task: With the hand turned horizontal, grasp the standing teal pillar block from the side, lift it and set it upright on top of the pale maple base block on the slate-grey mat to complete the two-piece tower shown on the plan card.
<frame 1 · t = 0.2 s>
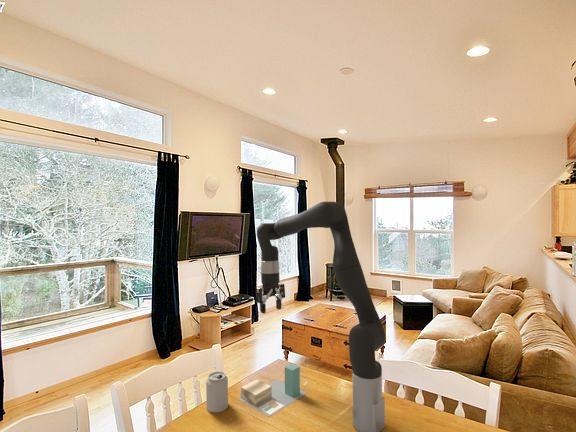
hand: (271, 311, 138), 28 cm above the table, tool pointing down, fingers open, 8 cm apart
pillar: (292, 393, 127), point 1 cm above the table, touching mat
mat: (273, 398, 125), on the table
base block: (256, 397, 124), point 1 cm above the table, touching mat
can: (217, 409, 119), on the table
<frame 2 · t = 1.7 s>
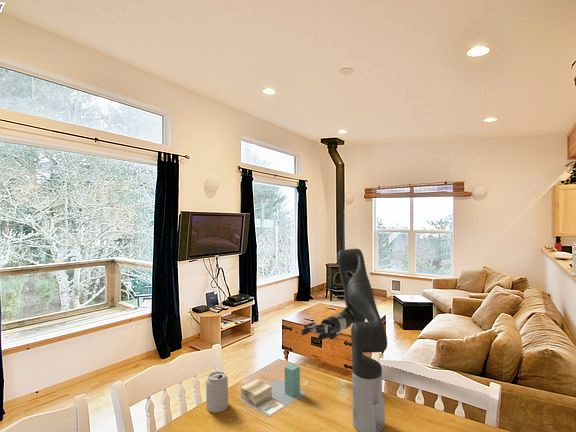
hand: (310, 335, 134), 20 cm above the table, tool horizontal, fingers open, 8 cm apart
nothing on the table moved.
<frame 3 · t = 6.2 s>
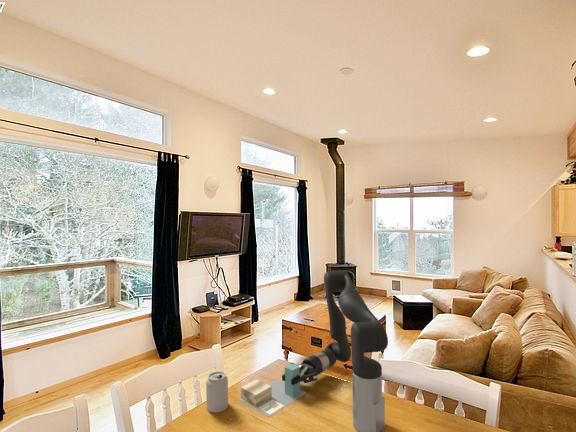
hand: (287, 380, 124), 7 cm above the table, tool horizontal, fingers closed on pillar, 4 cm apart
pillar: (292, 393, 127), point 1 cm above the table, touching gripper, mat
everything else where it was.
when the fingers open (12 cm above the table, at t = 11.6 s): pillar stays where it is, resting on base block.
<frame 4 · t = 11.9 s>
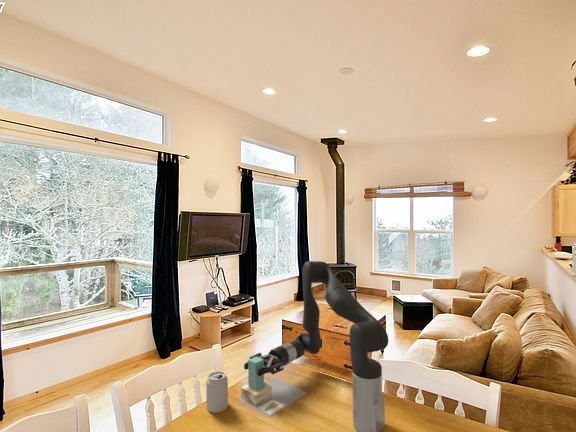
hand: (251, 369, 122), 12 cm above the table, tool horizontal, fingers open, 7 cm apart
pillar: (256, 386, 124), point 5 cm above the table, touching base block
base block: (256, 397, 124), point 1 cm above the table, touching mat, pillar
everything else where it was.
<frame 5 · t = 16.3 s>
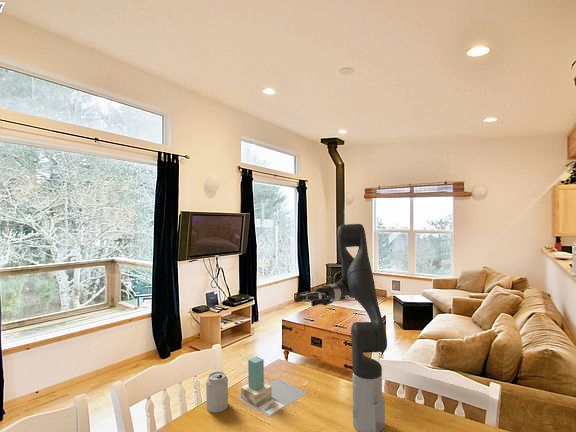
hand: (303, 301, 131), 34 cm above the table, tool horizontal, fingers open, 8 cm apart
nothing on the table moved.
at the end: pillar 0.0 cm off-centre on the base block, point 4.0 cm above the base block's base; pillar tilted 0°; the gripper is holding nothing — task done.
